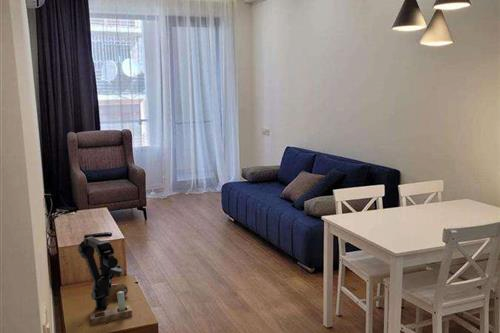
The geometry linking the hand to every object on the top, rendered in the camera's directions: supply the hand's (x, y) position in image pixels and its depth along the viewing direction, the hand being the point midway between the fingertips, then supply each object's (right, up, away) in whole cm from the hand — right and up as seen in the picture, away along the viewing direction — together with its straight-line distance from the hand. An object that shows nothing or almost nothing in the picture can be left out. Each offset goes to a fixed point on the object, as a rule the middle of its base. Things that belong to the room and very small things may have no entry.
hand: (108, 291), depth 253 cm
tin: (-3, -10, +23) cm, 26 cm away
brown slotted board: (+2, -13, -2) cm, 14 cm away
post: (+8, -13, 0) cm, 15 cm away
